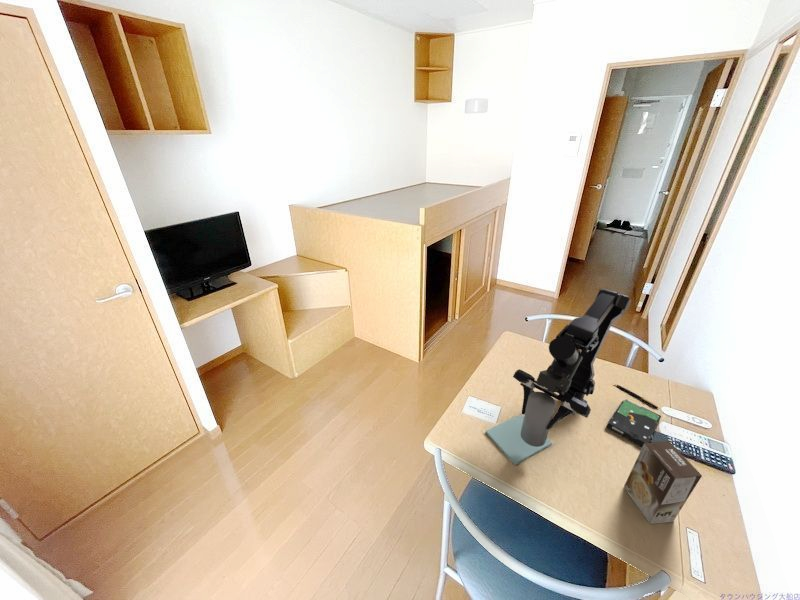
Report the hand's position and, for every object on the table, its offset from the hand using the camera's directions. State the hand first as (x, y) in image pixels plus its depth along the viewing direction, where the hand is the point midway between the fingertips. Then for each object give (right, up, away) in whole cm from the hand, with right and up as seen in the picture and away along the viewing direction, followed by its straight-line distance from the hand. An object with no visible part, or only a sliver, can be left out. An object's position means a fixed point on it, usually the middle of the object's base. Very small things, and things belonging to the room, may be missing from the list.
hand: (534, 421), depth 84 cm
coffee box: (+25, -18, -5) cm, 31 cm away
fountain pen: (+44, -1, +26) cm, 51 cm away
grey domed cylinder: (+1, -5, +4) cm, 7 cm away
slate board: (0, -9, +11) cm, 15 cm away
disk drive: (+36, -7, +16) cm, 40 cm away
